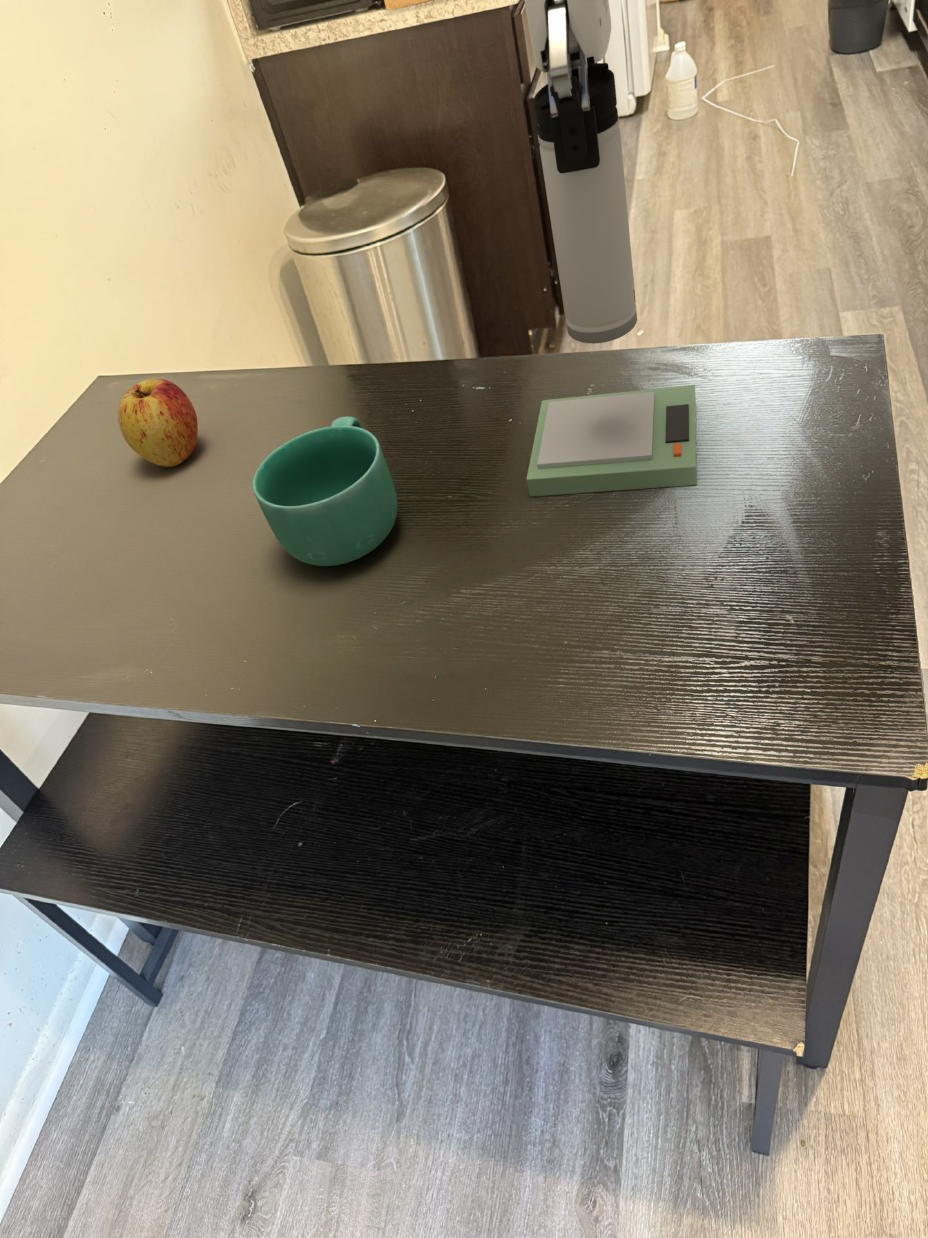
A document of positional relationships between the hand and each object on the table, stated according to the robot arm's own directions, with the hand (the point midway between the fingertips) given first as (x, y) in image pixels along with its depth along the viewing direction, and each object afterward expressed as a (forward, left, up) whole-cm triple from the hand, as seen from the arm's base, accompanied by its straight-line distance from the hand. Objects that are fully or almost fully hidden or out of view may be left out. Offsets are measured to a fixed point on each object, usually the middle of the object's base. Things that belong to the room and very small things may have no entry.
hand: (582, 149), depth 68 cm
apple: (+54, -7, -29) cm, 62 cm away
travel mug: (0, 0, -15) cm, 15 cm away
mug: (+26, +9, -29) cm, 40 cm away
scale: (0, -1, -29) cm, 29 cm away
